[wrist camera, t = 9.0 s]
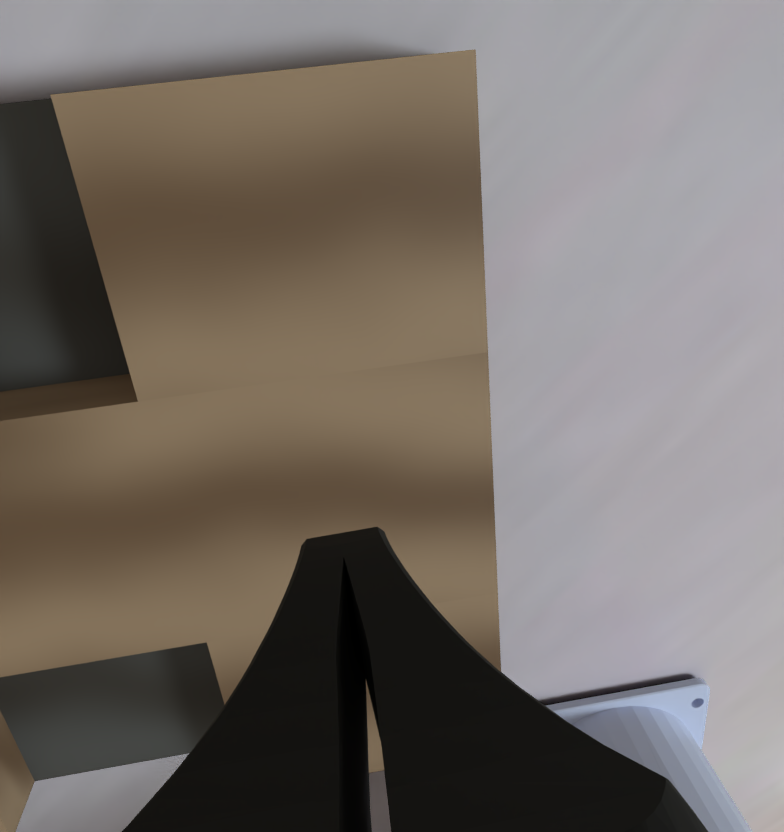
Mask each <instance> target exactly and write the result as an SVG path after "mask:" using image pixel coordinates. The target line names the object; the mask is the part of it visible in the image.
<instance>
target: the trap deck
mask: <svg viewBox="0 0 784 832" xmlns="http://www.w3.org/2000/svg"><path fill="white" fill-rule="evenodd" d="M372 527H379V528H380V529H382V530H383V531H384V532H385V534H386V537H387V539H388V541H389V543H390V545H391V547H392V549H393V550H394V552H395V554H396V555H397V557H398V559H399V560H400V562H401V563H402V565H403V566H404V568H405V569H406V570H407V572H408V573H409V575H410V576H411V577H412V579H413V580H414V581H415V583H416V584H417V585H418V586H419V588H420V589H421V590H422V592H423V593H424V594H425V595H426V597H427V598H428V599H429V600H430V602H431V603H432V604H433V605H434V606H435V607H436V609H437V610H438V611H439V612H440V613H441V614H442V615H443V617H444V618H445V619H446V620H447V621H448V622H449V623H450V624H451V625H452V626H453V627H454V628H455V629H456V631H457V632H458V633H459V634H460V635H461V636H462V637H463V638H464V639H465V640H466V641H467V642H468V643H469V644H470V645H471V646H473V647H474V648H475V649H476V650H477V651H478V652H479V653H480V654H481V655H482V656H483V657H484V658H486V659H487V660H488V661H489V662H490V663H491V664H492V665H493V666H494V667H496V668H497V669H498V670H499V671H500V672H501V662H500V637H499V613H498V588H497V564H496V539H495V515H494V490H493V466H492V441H491V417H490V392H489V368H488V343H487V319H486V294H485V270H484V245H483V221H482V196H481V172H480V147H479V123H478V98H477V74H476V50H466V51H457V52H447V53H438V54H429V55H419V56H410V57H400V58H391V59H382V60H372V61H363V62H353V63H344V64H335V65H325V66H316V67H306V68H297V69H288V70H278V71H269V72H259V73H250V74H240V75H231V76H222V77H212V78H203V79H193V80H184V81H175V82H165V83H156V84H146V85H137V86H128V87H118V88H109V89H99V90H90V91H80V92H71V93H62V94H52V95H51V99H44V100H34V101H25V102H16V103H6V104H0V832H15V831H16V829H17V826H18V823H19V821H20V818H21V815H22V813H23V810H24V808H25V805H26V802H27V800H28V797H29V794H30V792H31V789H32V787H33V784H34V781H38V780H44V779H49V778H55V777H60V776H66V775H71V774H77V773H82V772H88V771H93V770H99V769H104V768H110V767H115V766H121V765H126V764H132V763H137V762H143V761H148V760H154V759H159V758H165V757H170V756H176V755H181V754H187V753H190V752H191V751H192V750H193V748H194V747H195V745H196V744H197V743H198V741H199V740H200V739H201V737H202V736H203V735H204V733H205V732H206V731H207V729H208V728H209V726H210V725H211V724H212V722H213V721H214V720H215V718H216V717H217V715H218V714H219V712H220V711H221V709H222V708H223V706H224V705H225V703H226V702H227V700H228V699H229V697H230V696H231V694H232V693H233V691H234V690H235V688H236V686H237V685H238V683H239V682H240V680H241V678H242V677H243V675H244V673H245V672H246V670H247V668H248V666H249V665H250V663H251V661H252V659H253V657H254V655H255V654H256V652H257V650H258V648H259V646H260V644H261V642H262V640H263V639H264V637H265V635H266V633H267V631H268V629H269V627H270V625H271V623H272V621H273V619H274V616H275V614H276V612H277V610H278V608H279V605H280V603H281V601H282V599H283V597H284V594H285V592H286V590H287V587H288V584H289V582H290V579H291V577H292V574H293V571H294V569H295V566H296V563H297V560H298V556H299V553H300V549H301V545H302V544H303V543H304V542H305V540H306V539H309V538H314V537H320V536H326V535H332V534H338V533H343V532H349V531H355V530H361V529H366V528H372ZM366 696H367V728H368V761H369V773H372V772H377V771H382V770H384V763H383V754H382V746H381V741H380V737H379V732H378V728H377V724H376V720H375V715H374V711H373V707H372V703H371V699H370V694H369V690H368V686H367V682H366Z"/></svg>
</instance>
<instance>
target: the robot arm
mask: <svg viewBox="0 0 784 832" xmlns="http://www.w3.org/2000/svg"><path fill="white" fill-rule="evenodd" d="M366 682H367V686H368V690H369V694H370V699H371V703H372V707H373V711H374V715H375V720H376V724H377V728H378V732H379V737H380V741H381V746H382V754H383V763H384V771H385V779H386V788H387V796H388V805H389V814H390V823H391V832H753V831H752V830H751V828H750V826H749V825H748V823H747V822H746V820H745V819H744V817H743V815H742V814H741V812H740V811H739V809H738V807H737V806H736V804H735V803H734V801H733V799H732V798H731V796H730V795H729V793H728V792H727V790H726V788H725V787H724V785H723V784H722V782H721V780H720V779H719V777H718V776H717V774H716V773H715V771H714V769H713V768H712V766H711V765H710V763H709V761H708V760H707V758H706V757H705V755H704V753H703V752H702V744H703V737H704V730H705V722H706V715H707V708H708V701H709V694H710V688H709V686H708V685H707V683H706V682H705V681H704V680H703V679H701V678H693V679H688V680H682V681H677V682H671V683H666V684H661V685H655V686H650V687H644V688H639V689H633V690H628V691H622V692H617V693H611V694H606V695H601V696H595V697H590V698H584V699H579V700H573V701H568V702H562V703H557V704H552V705H546V706H545V705H543V704H542V703H541V702H539V701H538V700H537V699H535V698H534V697H532V696H531V695H530V694H528V693H527V692H525V691H524V690H523V689H521V688H520V687H519V686H517V685H516V684H515V683H514V682H513V681H511V680H510V679H509V678H508V677H506V676H505V675H504V674H503V673H502V672H500V671H499V670H498V669H497V668H496V667H494V666H493V665H492V664H491V663H490V662H489V661H488V660H487V659H486V658H484V657H483V656H482V655H481V654H480V653H479V652H478V651H477V650H476V649H475V648H474V647H473V646H471V645H470V644H469V643H468V642H467V641H466V640H465V639H464V638H463V637H462V636H461V635H460V634H459V633H458V632H457V631H456V629H455V628H454V627H453V626H452V625H451V624H450V623H449V622H448V621H447V620H446V619H445V618H444V617H443V615H442V614H441V613H440V612H439V611H438V610H437V609H436V607H435V606H434V605H433V604H432V603H431V602H430V600H429V599H428V598H427V597H426V595H425V594H424V593H423V592H422V590H421V589H420V588H419V586H418V585H417V584H416V583H415V581H414V580H413V579H412V577H411V576H410V575H409V573H408V572H407V570H406V569H405V568H404V566H403V565H402V563H401V562H400V560H399V559H398V557H397V555H396V554H395V552H394V550H393V549H392V547H391V545H390V543H389V541H388V539H387V537H386V534H385V532H384V531H383V530H382V529H380V528H379V527H372V528H366V529H361V530H355V531H349V532H343V533H338V534H332V535H326V536H320V537H314V538H309V539H306V540H305V542H304V543H303V544H302V545H301V549H300V553H299V556H298V560H297V563H296V566H295V569H294V571H293V574H292V577H291V579H290V582H289V584H288V587H287V590H286V592H285V594H284V597H283V599H282V601H281V603H280V605H279V608H278V610H277V612H276V614H275V616H274V619H273V621H272V623H271V625H270V627H269V629H268V631H267V633H266V635H265V637H264V639H263V640H262V642H261V644H260V646H259V648H258V650H257V652H256V654H255V655H254V657H253V659H252V661H251V663H250V665H249V666H248V668H247V670H246V672H245V673H244V675H243V677H242V678H241V680H240V682H239V683H238V685H237V686H236V688H235V690H234V691H233V693H232V694H231V696H230V697H229V699H228V700H227V702H226V703H225V705H224V706H223V708H222V709H221V711H220V712H219V714H218V715H217V717H216V718H215V720H214V721H213V722H212V724H211V725H210V726H209V728H208V729H207V731H206V732H205V733H204V735H203V736H202V737H201V739H200V740H199V741H198V743H197V744H196V745H195V747H194V748H193V750H192V751H191V752H190V753H189V755H188V756H187V757H186V759H185V760H184V761H183V762H182V764H181V765H180V766H179V767H178V769H177V770H176V771H175V772H174V774H173V775H172V776H171V777H170V778H169V779H168V780H167V782H166V783H165V784H164V785H163V786H162V787H161V788H160V790H159V791H158V792H157V793H156V794H155V795H154V796H153V798H152V799H151V800H150V801H149V802H148V803H147V804H146V806H145V807H144V808H143V809H142V810H141V811H140V812H139V813H138V815H137V816H136V817H135V818H134V819H133V820H132V821H131V823H130V824H129V825H128V826H127V827H126V828H125V829H124V830H123V831H122V832H372V830H371V815H370V794H369V761H368V728H367V696H366Z"/></svg>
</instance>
